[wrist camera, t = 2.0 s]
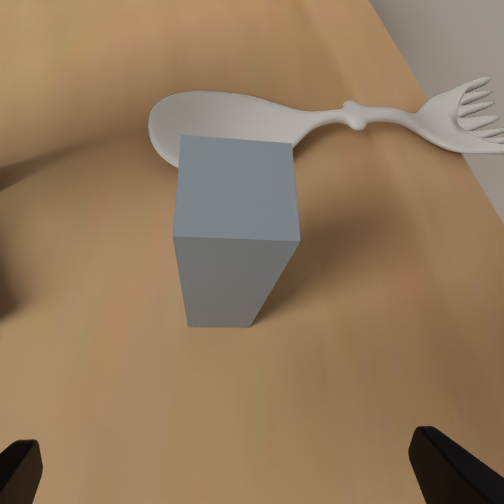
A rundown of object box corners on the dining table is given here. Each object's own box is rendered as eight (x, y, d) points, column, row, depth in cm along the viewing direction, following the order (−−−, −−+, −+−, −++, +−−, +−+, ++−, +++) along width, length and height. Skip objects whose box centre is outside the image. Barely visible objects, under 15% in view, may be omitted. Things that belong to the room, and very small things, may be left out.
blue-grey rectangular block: (249, 327, 23) (300, 241, 11) (188, 327, 22) (172, 236, 10) (248, 270, 24) (292, 143, 13) (191, 269, 24) (180, 134, 12)
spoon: (507, 171, 32) (540, 145, 29) (155, 195, 26) (149, 166, 23) (468, 100, 36) (493, 70, 33) (149, 107, 30) (143, 71, 27)
